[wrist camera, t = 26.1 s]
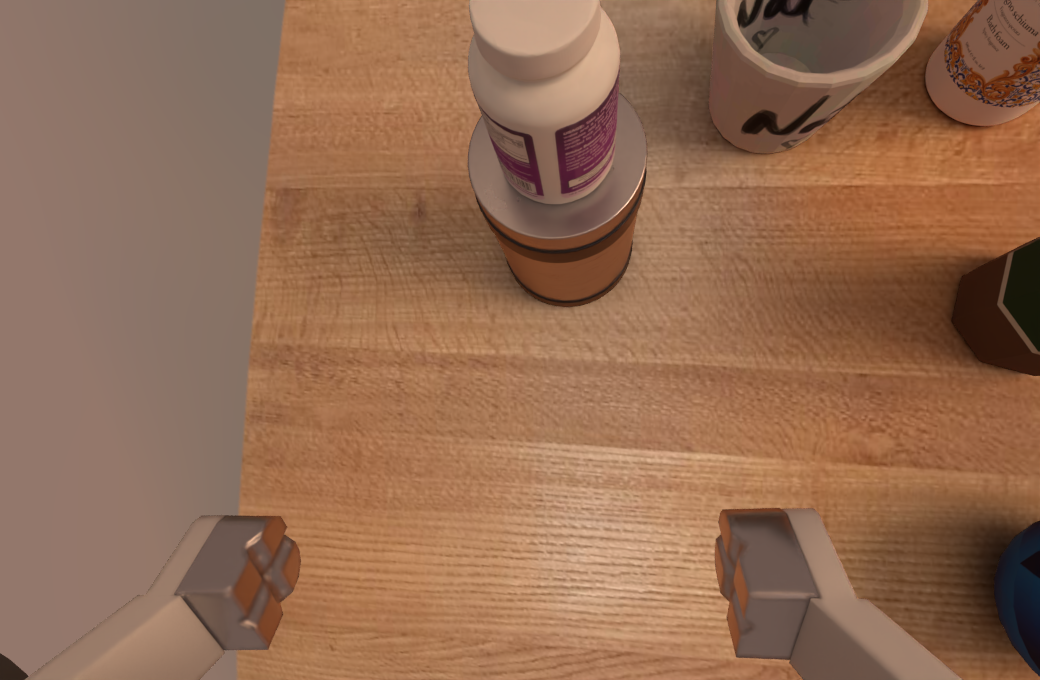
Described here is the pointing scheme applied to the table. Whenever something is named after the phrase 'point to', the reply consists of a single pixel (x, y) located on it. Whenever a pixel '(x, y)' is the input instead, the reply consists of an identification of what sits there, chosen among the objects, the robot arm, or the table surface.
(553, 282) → the copper canister
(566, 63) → the pill bottle
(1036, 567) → the bomb
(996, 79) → the bath foam
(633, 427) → the table surface
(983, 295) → the beer bottle
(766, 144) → the mug
